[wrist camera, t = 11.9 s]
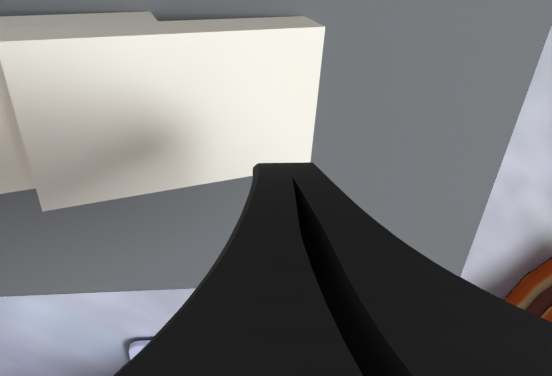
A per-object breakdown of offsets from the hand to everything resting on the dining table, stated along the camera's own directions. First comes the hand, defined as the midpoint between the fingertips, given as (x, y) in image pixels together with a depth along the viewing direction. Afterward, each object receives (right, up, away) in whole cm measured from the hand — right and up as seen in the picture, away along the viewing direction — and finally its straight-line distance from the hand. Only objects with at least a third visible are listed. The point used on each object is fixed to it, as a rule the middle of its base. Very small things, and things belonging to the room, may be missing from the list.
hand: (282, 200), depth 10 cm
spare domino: (+1, +4, +6) cm, 7 cm away
